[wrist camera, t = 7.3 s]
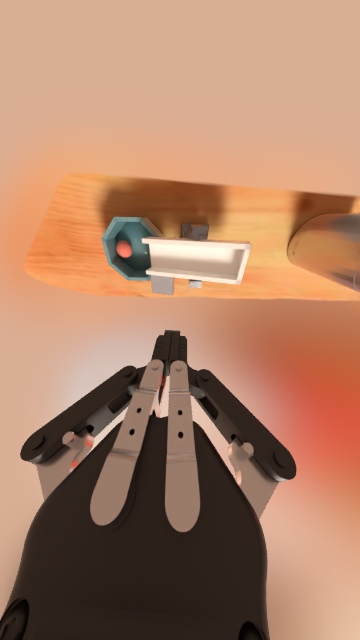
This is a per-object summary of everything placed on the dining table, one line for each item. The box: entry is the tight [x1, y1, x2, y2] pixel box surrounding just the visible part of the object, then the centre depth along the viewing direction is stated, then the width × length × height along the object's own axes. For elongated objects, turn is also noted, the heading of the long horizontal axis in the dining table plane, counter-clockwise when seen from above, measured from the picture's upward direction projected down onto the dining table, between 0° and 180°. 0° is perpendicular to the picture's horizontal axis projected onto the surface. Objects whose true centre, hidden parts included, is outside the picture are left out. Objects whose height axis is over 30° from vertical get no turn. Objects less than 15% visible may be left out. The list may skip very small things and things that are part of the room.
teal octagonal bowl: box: [102, 217, 164, 281], centre depth 27 cm, size 10×10×6 cm
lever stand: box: [182, 223, 209, 287], centre depth 25 cm, size 5×9×10 cm, turn 179°
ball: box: [116, 240, 132, 257], centre depth 27 cm, size 3×3×3 cm
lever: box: [142, 237, 252, 295], centre depth 23 cm, size 15×9×6 cm, turn 88°
